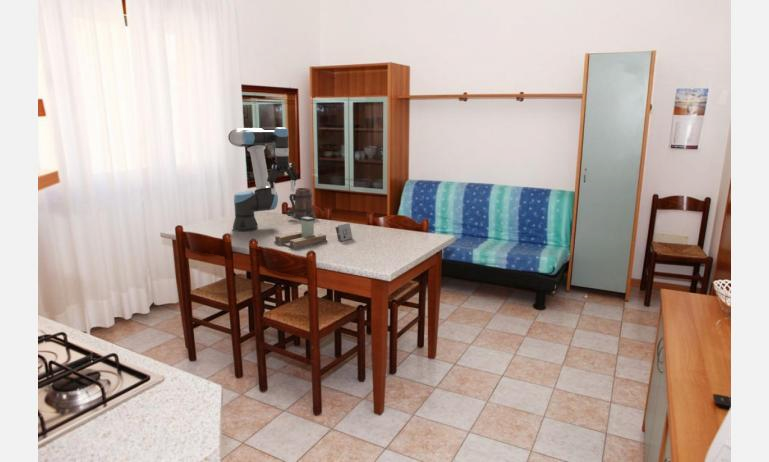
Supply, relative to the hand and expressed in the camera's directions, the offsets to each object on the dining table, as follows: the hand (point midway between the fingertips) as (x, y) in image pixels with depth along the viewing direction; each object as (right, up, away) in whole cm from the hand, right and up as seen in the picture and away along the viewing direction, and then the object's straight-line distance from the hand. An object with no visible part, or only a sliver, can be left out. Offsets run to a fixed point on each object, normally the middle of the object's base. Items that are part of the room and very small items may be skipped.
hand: (283, 192), depth 284 cm
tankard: (-1, -13, +61) cm, 63 cm away
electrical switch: (+34, -27, +5) cm, 44 cm away
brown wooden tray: (+11, -28, -3) cm, 31 cm away
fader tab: (+14, -26, 0) cm, 30 cm away
